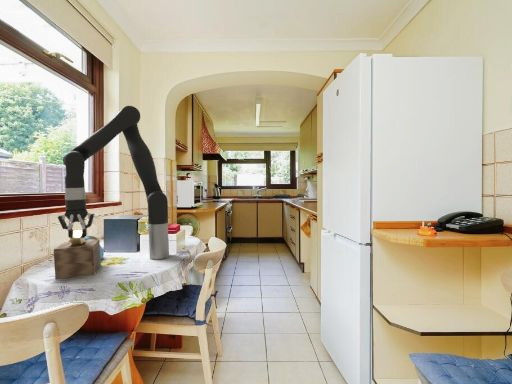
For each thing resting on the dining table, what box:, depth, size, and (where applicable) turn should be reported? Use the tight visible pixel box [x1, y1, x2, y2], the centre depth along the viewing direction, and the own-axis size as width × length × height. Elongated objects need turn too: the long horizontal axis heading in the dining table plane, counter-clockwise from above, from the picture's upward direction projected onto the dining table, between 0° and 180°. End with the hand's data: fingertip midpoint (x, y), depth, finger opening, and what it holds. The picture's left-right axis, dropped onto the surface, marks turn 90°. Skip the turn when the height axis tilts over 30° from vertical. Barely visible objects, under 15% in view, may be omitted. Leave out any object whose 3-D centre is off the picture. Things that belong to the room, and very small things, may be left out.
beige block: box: [70, 229, 85, 247], centre depth 124 cm, size 4×7×5 cm, turn 20°
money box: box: [53, 239, 101, 279], centre depth 125 cm, size 14×14×12 cm
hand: (77, 237), depth 124 cm, fingers open, 4 cm apart
